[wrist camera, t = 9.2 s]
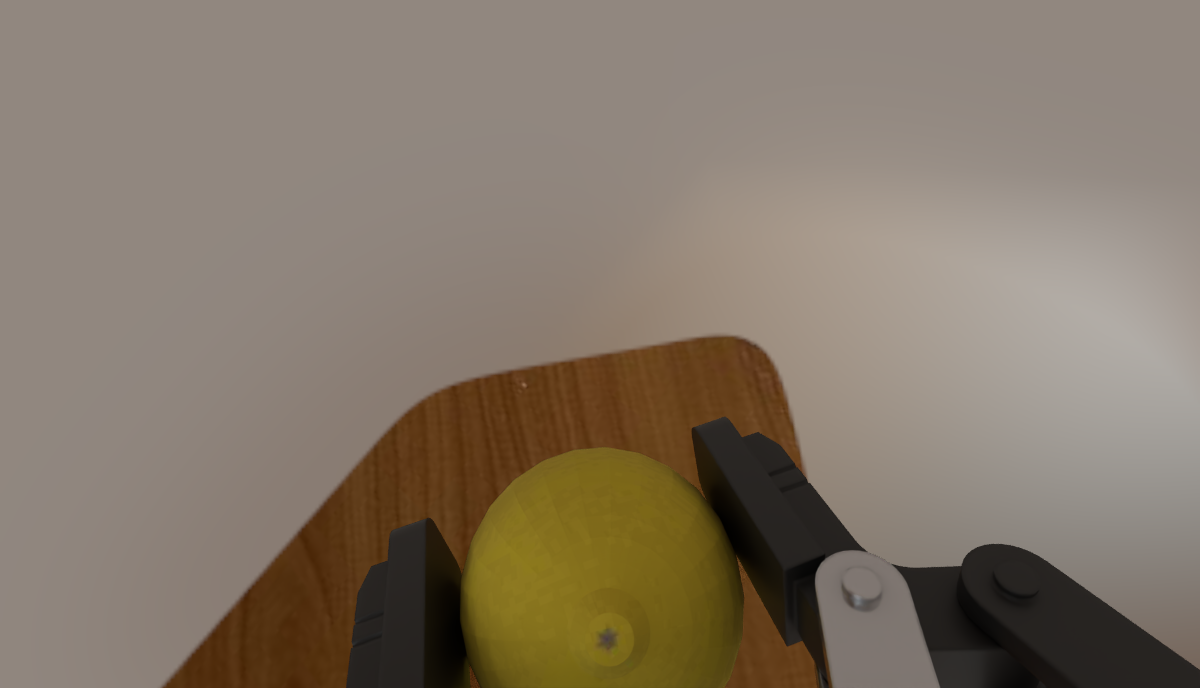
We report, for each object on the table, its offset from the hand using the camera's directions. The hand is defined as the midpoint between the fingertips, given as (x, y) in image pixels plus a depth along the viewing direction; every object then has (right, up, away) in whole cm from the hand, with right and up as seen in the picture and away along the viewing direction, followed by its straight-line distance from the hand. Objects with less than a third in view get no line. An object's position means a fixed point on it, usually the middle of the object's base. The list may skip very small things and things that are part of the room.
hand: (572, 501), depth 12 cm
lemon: (0, -3, +4) cm, 5 cm away
